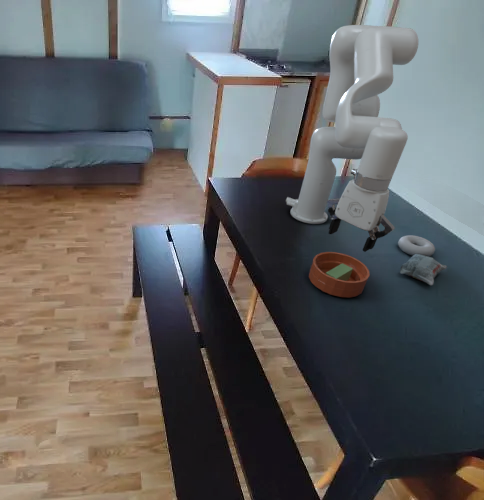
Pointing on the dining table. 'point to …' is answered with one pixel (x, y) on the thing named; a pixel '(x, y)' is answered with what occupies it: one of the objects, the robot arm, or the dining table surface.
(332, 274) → the bar
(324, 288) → the bowl
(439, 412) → the dining table surface
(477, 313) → the dining table surface
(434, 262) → the packaged food
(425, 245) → the donut
